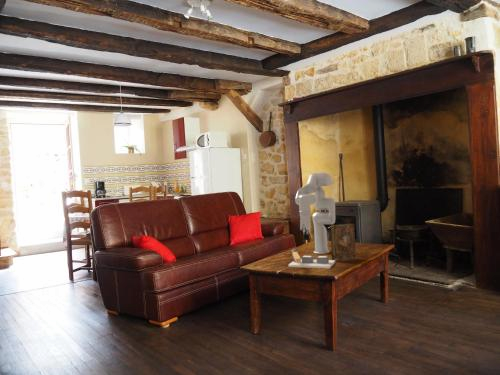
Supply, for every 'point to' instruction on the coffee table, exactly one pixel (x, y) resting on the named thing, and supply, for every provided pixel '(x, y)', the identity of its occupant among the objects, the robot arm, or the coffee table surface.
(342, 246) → the book
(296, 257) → the tan wooden bar
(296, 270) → the coffee table surface
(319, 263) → the board
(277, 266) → the coffee table surface
